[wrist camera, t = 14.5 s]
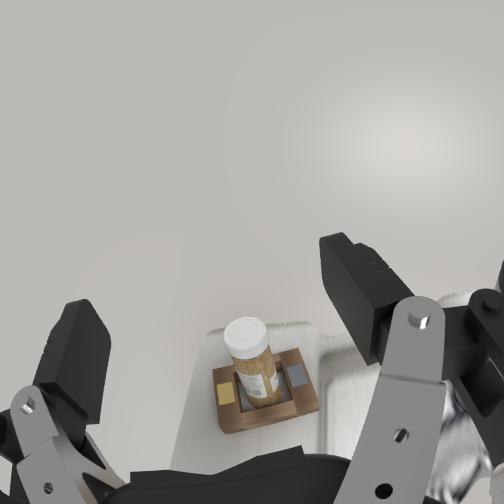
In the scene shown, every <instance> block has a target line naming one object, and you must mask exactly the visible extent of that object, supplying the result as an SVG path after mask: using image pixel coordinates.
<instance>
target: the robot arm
mask: <svg viewBox="0 0 504 504" xmlns="http://www.w3.org/2000/svg"><path fill="white" fill-rule="evenodd" d="M319 246H320V258H321V270H322V280H323V284H324V287H325V290H326V292H327V294H328V296H329V298H330V300H331V301H332V303H333V305H334V306H335V308H336V310H337V312H338V314H339V315H340V317H341V319H342V321H343V323H344V324H345V326H346V328H347V330H348V331H349V333H350V335H351V337H352V339H353V340H354V342H355V344H356V346H357V348H358V350H359V351H360V353H361V355H362V357H363V359H364V361H365V362H366V364H367V366H369V365H371V364H374V363H377V362H379V363H380V365H381V371H380V374H379V376H378V380H377V383H376V387H375V390H374V394H373V397H372V401H371V404H370V407H369V411H368V414H367V417H366V420H365V423H364V426H363V429H362V432H361V435H360V438H359V441H358V444H357V446H356V449H355V452H354V455H353V457H352V460H349V459H347V458H343V457H339V456H334V455H327V454H304V452H303V449H302V446H301V445H300V446H296V447H293V448H289V449H285V450H281V451H277V452H273V453H269V454H265V455H261V456H256V457H254V458H252V459H250V460H248V461H245V462H243V463H241V464H239V465H236V466H234V467H232V468H229V469H227V470H224V471H222V472H220V473H217V474H214V475H203V474H194V473H186V472H179V471H172V470H159V471H141V472H131V473H130V481H131V482H130V483H128V484H126V483H125V482H124V481H123V480H122V479H120V478H119V477H118V476H117V474H116V473H115V472H114V471H113V469H112V468H111V467H110V465H109V464H108V462H107V461H106V459H105V458H104V456H103V455H102V453H101V452H100V450H99V449H98V447H97V446H96V444H95V443H94V441H93V439H92V438H91V436H90V435H89V434H88V433H87V432H86V431H85V430H86V425H89V424H99V421H100V413H101V405H102V397H103V391H104V385H105V378H106V372H107V366H108V361H109V355H110V350H111V339H110V334H109V332H108V330H107V328H106V327H105V325H104V324H103V322H102V321H101V319H100V318H99V316H98V314H97V313H96V311H95V309H94V308H93V306H92V304H91V303H90V302H89V301H88V300H87V299H82V300H78V301H74V302H70V303H67V304H66V306H65V308H64V310H63V313H62V315H61V318H60V320H59V321H58V322H57V324H56V325H55V326H54V327H53V329H52V330H51V332H50V335H49V337H48V340H47V344H46V346H45V348H44V354H42V357H41V360H40V363H39V365H38V368H37V371H36V375H35V378H34V381H33V384H32V385H30V386H26V387H24V388H23V389H21V390H20V391H19V392H18V393H17V394H16V395H15V397H14V398H13V401H12V403H11V408H10V409H8V410H5V411H3V412H0V455H1V456H2V457H4V458H5V459H7V460H8V461H10V462H11V463H13V466H12V474H11V485H10V495H9V496H8V495H6V494H4V493H3V492H2V491H1V490H0V504H446V503H443V502H440V501H438V500H435V499H433V498H431V497H428V496H426V495H425V494H426V490H427V487H428V483H429V479H430V476H431V472H432V468H433V463H434V459H435V455H436V450H437V445H438V440H439V435H440V429H441V424H442V417H443V411H444V404H445V395H446V385H445V383H442V382H441V381H443V380H449V379H450V380H451V382H452V384H453V386H454V387H455V395H456V398H457V400H458V402H459V404H460V405H461V407H462V408H463V409H464V410H465V411H467V412H468V413H469V415H470V416H471V418H472V420H473V422H474V424H475V426H476V428H477V430H478V432H479V434H480V436H481V438H482V440H483V442H484V444H485V446H486V448H487V450H488V452H489V454H490V457H491V459H492V461H493V463H494V465H495V468H496V469H495V470H494V472H493V474H492V477H491V481H490V490H489V493H490V495H491V497H492V504H504V261H503V263H502V267H501V270H500V273H499V277H498V280H497V283H496V286H495V289H494V290H493V289H480V290H477V291H475V292H474V293H473V294H472V295H471V297H470V300H469V303H468V305H466V306H459V307H451V308H442V307H441V306H440V305H439V304H438V303H437V302H435V301H434V300H432V299H429V298H426V297H422V296H415V295H414V294H413V293H412V292H411V291H410V289H409V288H408V287H407V286H406V285H405V284H404V283H403V281H402V280H401V279H400V278H399V277H398V276H397V275H396V274H395V272H394V271H393V270H392V269H391V268H389V266H388V265H387V263H386V262H385V261H384V260H382V258H381V257H380V256H379V255H378V253H377V252H376V251H375V250H374V249H372V248H370V247H368V246H366V245H364V244H362V243H358V244H353V243H352V242H351V241H350V240H349V238H347V236H346V235H345V234H344V233H342V232H340V233H337V234H333V235H329V236H325V237H321V238H320V241H319Z"/></svg>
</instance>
